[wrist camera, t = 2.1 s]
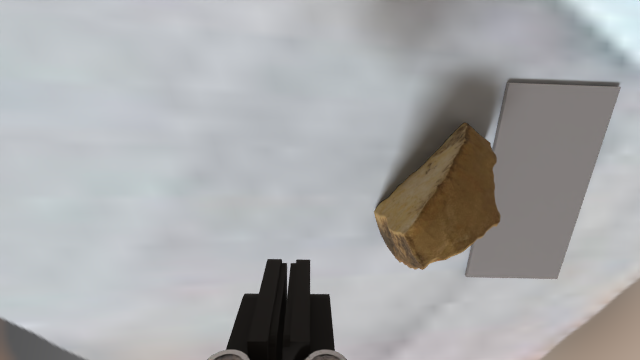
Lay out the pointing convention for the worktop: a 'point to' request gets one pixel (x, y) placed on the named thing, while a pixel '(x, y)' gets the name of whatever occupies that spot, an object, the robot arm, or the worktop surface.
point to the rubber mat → (541, 176)
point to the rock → (442, 202)
